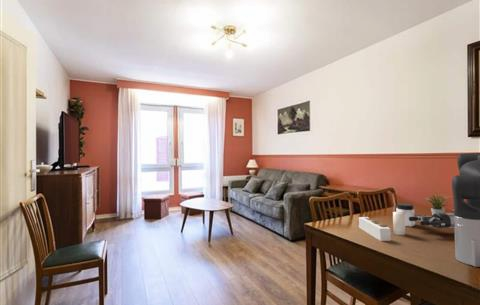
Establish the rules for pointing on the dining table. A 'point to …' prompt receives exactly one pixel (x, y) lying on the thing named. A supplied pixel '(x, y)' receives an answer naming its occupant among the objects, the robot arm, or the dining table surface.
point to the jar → (406, 212)
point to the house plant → (437, 204)
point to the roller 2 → (382, 225)
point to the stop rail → (375, 229)
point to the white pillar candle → (399, 223)
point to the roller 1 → (374, 221)
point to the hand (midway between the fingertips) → (414, 221)
